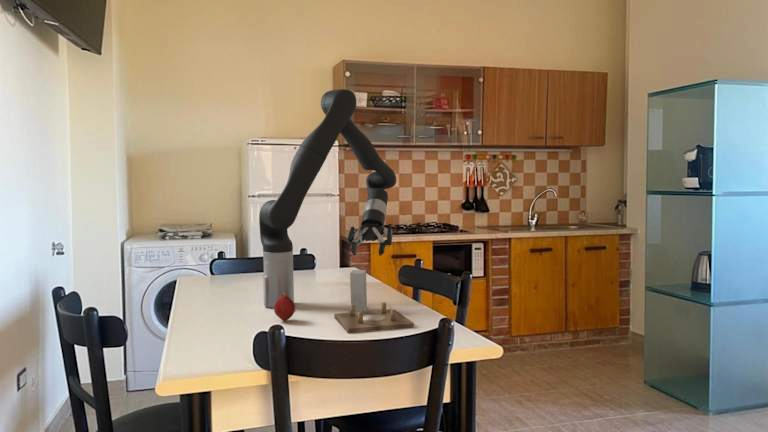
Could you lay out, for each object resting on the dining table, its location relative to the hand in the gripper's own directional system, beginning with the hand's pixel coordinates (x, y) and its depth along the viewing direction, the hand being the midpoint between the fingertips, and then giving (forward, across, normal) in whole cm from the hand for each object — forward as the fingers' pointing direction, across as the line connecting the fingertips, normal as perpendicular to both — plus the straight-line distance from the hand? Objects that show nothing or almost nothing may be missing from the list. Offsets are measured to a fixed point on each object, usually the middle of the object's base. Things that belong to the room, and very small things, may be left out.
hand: (367, 254), depth 197 cm
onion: (+31, -18, -8) cm, 36 cm away
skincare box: (+19, 0, +3) cm, 20 cm away
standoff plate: (+29, +8, -7) cm, 31 cm away
